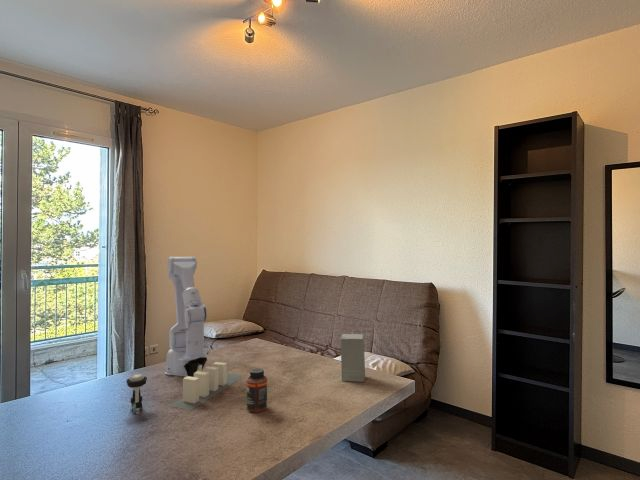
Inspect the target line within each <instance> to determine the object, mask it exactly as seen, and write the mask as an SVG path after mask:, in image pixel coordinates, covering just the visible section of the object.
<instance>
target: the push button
mask: <svg viewBox="0 0 640 480" xmlns="http://www.w3.org/2000/svg"><path fill="white" fill-rule="evenodd" d="M147 380H148V377H147V376H145V375H144V373H135V374H131V375H130V376H129V378H127V379H126V386H127V387H129V388H131V389H133V390H132V397H130V411H133V413H136V415H139V414H140V412H141V409H143V396H142V395H141V388H142V387H143V386H144V385H147Z"/></svg>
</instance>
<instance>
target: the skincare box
mask: <svg viewBox="0 0 640 480" xmlns="http://www.w3.org/2000/svg"><path fill="white" fill-rule="evenodd" d="M339 340H340V358H341V359H340V360H341V361H340V364H341V382H353V383H357V382H358V383H359V382H360V383H364V382H365V378H366V360H365V358H366V357H365V335H364V334H363V333H361V334H360V333H355V334H354V333H343V334H341V337H340V339H339Z"/></svg>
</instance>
